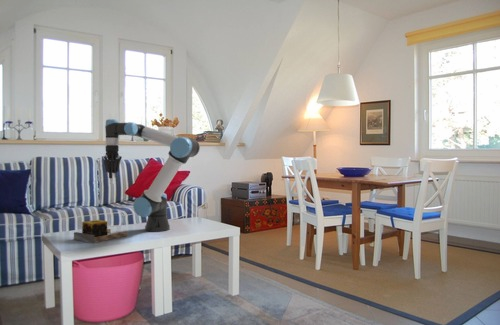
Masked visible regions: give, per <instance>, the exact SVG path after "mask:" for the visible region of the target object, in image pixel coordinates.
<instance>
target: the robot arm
mask: <svg viewBox="0 0 500 325" xmlns="http://www.w3.org/2000/svg"><path fill="white" fill-rule="evenodd" d="M104 127H105V155H102V156H101V159H102V161H103V163H104V164H103V165H104V168H105V170H104V171H105V172H106V173H108V178H109V184H111V185H114V184H115V183H116V175H117V174H116V173H118V172H119V171H120V170H119V169H120V164H121V160H122V156H121V155H119V148H120V147H119V138H120V136H132V137H133V136H134V137H138V138H141V139H146V140H148V141H151V142H154V143H157V144H160V145H163V146H166V147H169V149H170V150H169V151H168V158H167V159H166V161H165V163H164V164H163V165H162V167H161V169H160V170H159V172H158V173H157V175H156V177H155V178H154V180H152V183H151V184H150V186H149V188H148V189H145V190H144V191H143V192H142V194H141V195H140V196H139V197H137V198H136V199H135V200H134V201H133V206H132V207H133V210H134V213H135V214H136V215H137V216H139V217H141V218H142V217H143V218H145V217H147V220H146V224H145V226H144V230H145V231H146V232H164V231H165V232H166V231H169V230H171V227H170V226H171V225H170V223H169V220H168V198H167V197H168V196H167V193H165V191H166V190H167V188H168V187H169V185H170V184H171V182H172V181H173V179H174V177H175V176H176V174H177V173H178V171H179V169H180V168H181V166H183V165H186V164H187V162H188V161H189V159H190V158H194V157H196V156H197V155H198V154H199V152H200V146H201V145H200V143H199V142H198V141H197V140H196V138H193V137H186V136H176V135H174V134H171V133H167V132H165V131H162V130H158V129H154V128H151V127H149V126H146V125H143V124H140V123H136V122H128V121H127V122H119V120H118V119H113V118H112V119H111V118H109V119H106V120H105V126H104Z"/></svg>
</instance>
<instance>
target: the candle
mask: <svg viewBox="0 0 500 325" xmlns="http://www.w3.org/2000/svg"><path fill="white" fill-rule="evenodd" d="M107 229H108V221H107V220H101V219H94V220H88V221H82V222H81V230H82V231H81V233H85V234H90V235H94V237H99V236H104V235H109V234H107V233H108V232H107Z"/></svg>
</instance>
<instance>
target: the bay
mask: <svg viewBox="0 0 500 325" xmlns="http://www.w3.org/2000/svg"><path fill="white" fill-rule="evenodd" d="M111 231H112V230H111V228H107V232H108V233H107V234H108V235H104V236H99V237H94V235H90V234H85V233H82V232H78V231H74V232H73V241H77V242H78V241H79V242H83V243H89V244H95V243H100V242H104V241H110V240H113V239H118V238H119V239H120V238H124V237H127V236H128V231H125V230H124V231H121V232H116V233H111Z"/></svg>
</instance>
